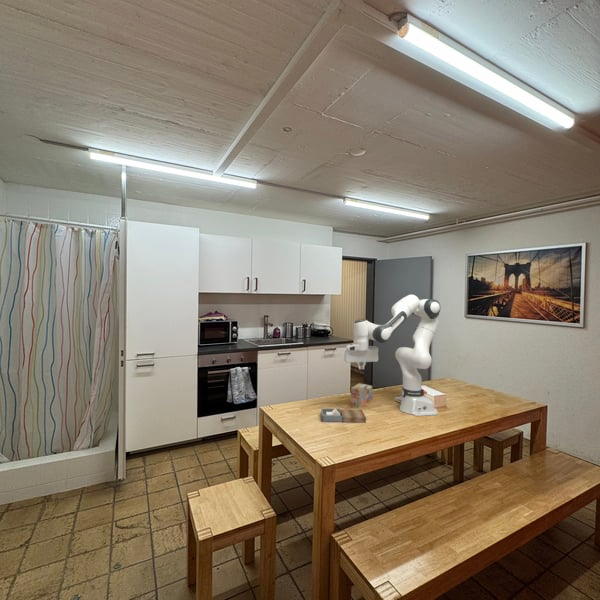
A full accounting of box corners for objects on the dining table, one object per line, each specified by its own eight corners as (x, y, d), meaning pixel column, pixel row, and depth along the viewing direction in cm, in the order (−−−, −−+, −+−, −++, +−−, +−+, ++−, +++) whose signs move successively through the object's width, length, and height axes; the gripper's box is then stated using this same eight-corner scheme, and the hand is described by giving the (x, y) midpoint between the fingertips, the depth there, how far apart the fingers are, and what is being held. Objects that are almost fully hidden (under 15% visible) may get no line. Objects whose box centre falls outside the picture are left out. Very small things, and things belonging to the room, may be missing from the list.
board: (361, 414, 188) (361, 409, 188) (365, 423, 176) (365, 417, 176) (340, 414, 188) (340, 409, 188) (342, 422, 176) (343, 417, 176)
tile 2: (336, 416, 184) (339, 413, 184) (337, 418, 180) (340, 415, 180) (332, 411, 184) (335, 408, 184) (332, 413, 180) (336, 410, 180)
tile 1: (325, 411, 184) (325, 416, 184) (326, 414, 180) (326, 418, 180) (332, 411, 184) (332, 416, 184) (333, 414, 180) (333, 418, 180)
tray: (339, 414, 188) (339, 408, 188) (342, 422, 177) (342, 416, 176) (321, 414, 188) (321, 408, 188) (322, 422, 177) (322, 415, 176)
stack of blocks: (364, 397, 220) (364, 380, 219) (372, 399, 216) (372, 381, 216) (350, 406, 202) (350, 387, 202) (359, 408, 199) (359, 389, 198)
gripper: (376, 344, 190) (377, 367, 190) (343, 345, 190) (344, 368, 190) (379, 346, 183) (380, 370, 184) (345, 347, 183) (345, 371, 184)
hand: (361, 369), depth 187 cm, fingers closed
